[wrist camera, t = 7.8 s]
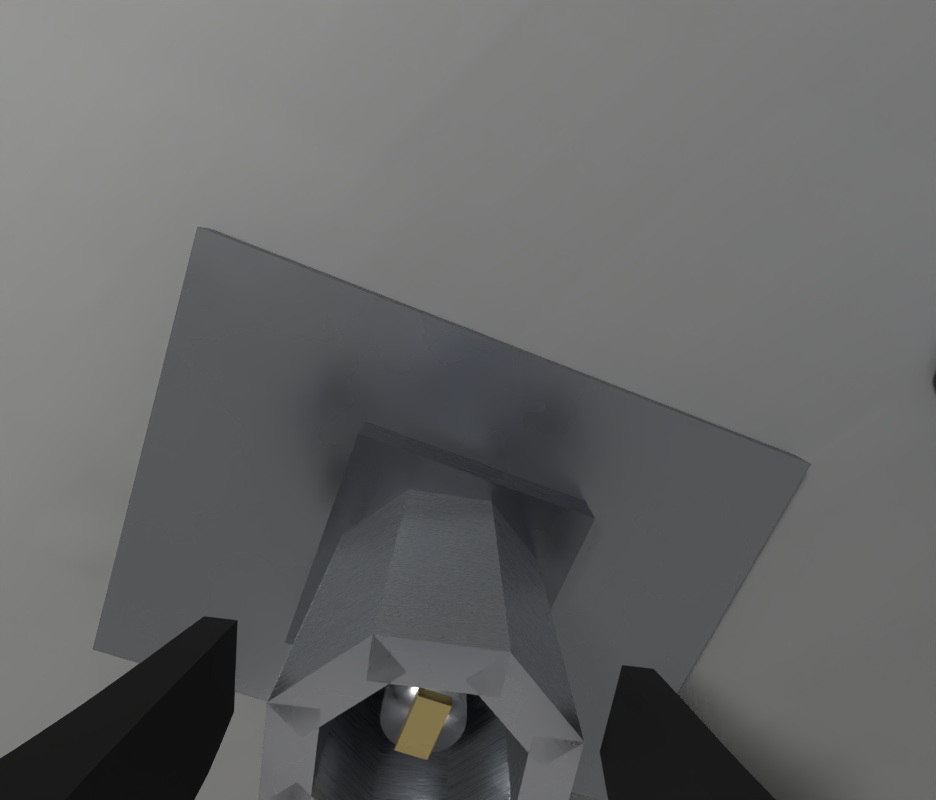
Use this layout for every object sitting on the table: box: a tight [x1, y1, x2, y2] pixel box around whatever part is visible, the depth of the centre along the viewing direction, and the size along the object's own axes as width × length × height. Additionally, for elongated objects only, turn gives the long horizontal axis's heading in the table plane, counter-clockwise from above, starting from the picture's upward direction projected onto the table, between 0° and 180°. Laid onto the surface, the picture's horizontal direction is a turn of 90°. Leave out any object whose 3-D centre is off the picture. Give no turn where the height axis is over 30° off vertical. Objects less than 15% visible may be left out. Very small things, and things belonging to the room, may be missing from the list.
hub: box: [259, 489, 585, 800], centre depth 10 cm, size 5×5×5 cm
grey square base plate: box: [93, 227, 811, 800], centre depth 11 cm, size 16×12×6 cm
